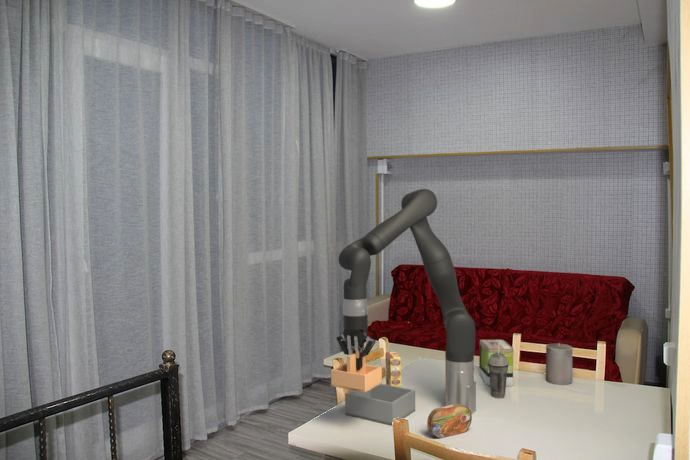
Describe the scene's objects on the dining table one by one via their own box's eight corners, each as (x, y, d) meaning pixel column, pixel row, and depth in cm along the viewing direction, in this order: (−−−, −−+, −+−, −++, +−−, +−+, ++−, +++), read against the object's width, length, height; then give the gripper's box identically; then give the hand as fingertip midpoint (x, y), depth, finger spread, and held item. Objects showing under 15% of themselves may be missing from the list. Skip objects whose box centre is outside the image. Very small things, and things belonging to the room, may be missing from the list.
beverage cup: (486, 398, 201) (486, 342, 200) (489, 392, 208) (489, 337, 207) (507, 400, 198) (507, 343, 198) (509, 394, 205) (509, 339, 204)
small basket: (381, 383, 175) (381, 351, 175) (365, 392, 167) (364, 359, 166) (349, 377, 182) (348, 347, 181) (331, 386, 173) (330, 354, 173)
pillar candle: (543, 377, 226) (543, 339, 225) (569, 377, 224) (569, 340, 224) (548, 384, 216) (548, 345, 215) (575, 385, 215) (575, 346, 214)
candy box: (402, 401, 199) (402, 357, 198) (390, 401, 198) (390, 358, 198) (396, 393, 207) (396, 351, 207) (385, 393, 207) (384, 351, 206)
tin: (431, 440, 165) (431, 412, 164) (425, 436, 167) (425, 408, 167) (472, 431, 172) (472, 403, 171) (465, 427, 174) (465, 400, 174)
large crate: (415, 410, 189) (415, 390, 189) (392, 425, 176) (392, 403, 176) (370, 401, 199) (369, 381, 198) (345, 414, 186) (345, 393, 185)
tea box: (514, 386, 214) (514, 347, 214) (487, 386, 214) (487, 347, 214) (503, 374, 229) (503, 338, 229) (478, 375, 229) (478, 338, 229)
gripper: (380, 312, 173) (381, 369, 173) (343, 309, 180) (344, 363, 181) (368, 316, 166) (368, 375, 167) (330, 312, 174) (331, 369, 175)
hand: (356, 369), depth 174 cm, fingers closed on small basket, 1 cm apart
